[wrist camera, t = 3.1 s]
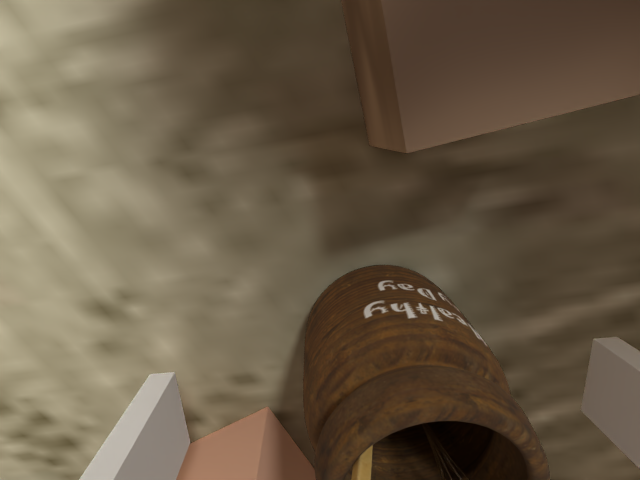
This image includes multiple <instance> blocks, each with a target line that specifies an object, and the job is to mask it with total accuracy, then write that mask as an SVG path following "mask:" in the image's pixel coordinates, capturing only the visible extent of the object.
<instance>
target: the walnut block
mask: <svg viewBox="0 0 640 480" xmlns="http://www.w3.org/2000/svg"><path fill="white" fill-rule="evenodd" d="M341 3H342V8H343V13H344V18H345V23H346V28H347V34H348V39H349V44H350V49H351V54H352V59H353V64H354V69H355V74H356V79H357V84H358V90H359V95H360V100H361V105H362V110H363V115H364V120H365V125H366V130H367V135H368V140H369V145H370V146H374V147H379V148H383V149H388V150H393V151H397V152H402V153H411V152H415V151H418V150H422V149H426V148H430V147H434V146H438V145H442V144H446V143H450V142H454V141H458V140H462V139H466V138H470V137H474V136H478V135H482V134H486V133H490V132H494V131H498V130H502V129H506V128H510V127H514V126H518V125H522V124H526V123H529V122H533V121H537V120H541V119H545V118H549V117H553V116H557V115H561V114H565V113H569V112H573V111H577V110H581V109H585V108H589V107H593V106H597V105H601V104H605V103H609V102H613V101H617V100H621V99H625V98H629V97H633V96H637V95H640V0H341Z"/></svg>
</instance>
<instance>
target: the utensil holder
mask: <svg viewBox="0 0 640 480" xmlns="http://www.w3.org/2000/svg"><path fill="white" fill-rule="evenodd" d="M303 402H304V415H305V422H306V427H307V431H308V435H309V439H310V442H311V444H312V446H313V449H314V451H315V477H316V480H550V475H549V466H548V462H547V458H546V455H545V453H544V450H543V448H542V446H541V444H540V442H539V440H538V438H537V435H536V433H535V431H534V430H533V428H532V426H531V424H530V422H529V420H528V418H527V416H526V415H525V413H524V412H523V410H522V409H521V407H520V406H519V405H518V404H517V403H516V401H515V400H514V399H513V398H512V397H511V395H510V390H509V387H508V383H507V380H506V377H505V375H504V373H503V371H502V369H501V367H500V365H499V363H498V361H497V359H496V357H495V356H494V354H493V353H492V351H491V350H490V348H489V347H488V346H487V344H486V343H485V341H484V340H483V339H482V338H481V336H480V335H479V334H478V333H477V331H476V330H475V329H474V328H473V326H472V325H471V324H470V323H469V321H468V320H467V319H466V318H465V317H464V315H463V314H462V313H461V312H460V311H459V309H458V308H457V307H456V306H455V305H454V303H453V302H452V301H451V300H450V299H449V298H448V297H447V296H446V295H445V294H444V293H443V291H442V290H441V289H440V288H438V287H437V286H436V285H435V284H434V283H433V282H431V281H430V280H429V279H427V278H426V277H424V276H422V275H421V274H419V273H417V272H415V271H412V270H410V269H406V268H403V267H399V266H392V265H374V266H368V267H363V268H360V269H357V270H354V271H351V272H349V273H347V274H345V275H343V276H342V277H340V278H339V279H337V280H336V281H334V282H333V283H332V284H331V285H330V286H329V287H328V288H327V289H326V290H325V291H324V292H323V293H322V294H321V296H320V297H319V298H318V300H317V301H316V303H315V305H314V307H313V309H312V311H311V314H310V317H309V320H308V324H307V329H306V337H305V349H304V379H303Z"/></svg>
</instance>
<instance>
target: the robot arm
mask: <svg viewBox="0 0 640 480" xmlns="http://www.w3.org/2000/svg"><path fill="white" fill-rule="evenodd" d="M581 411H582V412H583V413H584V414H585V415H586V416H587V417H588V418H589V419H590V420H591V421H592V422H593V423H594V424H595V425H596V426H597V427H598V428H599V429H600V430H601V431H602V432H603V433H604V434H605V435H606V436H607V437H608V438H609V439H610V440H611V441H612V442H613V443H614V444H615V445H616V446H617V447H618V448H619V449H620V450H621V451H622V452H623V453H624V454H625V455H626V456H627V457H628V458H629V459H630V460H631V461H632V462H633V463H634V464H635V465H636V466H637V467H638V468H639V469H640V351H639V350H637V349H636V348H634V347H633V346H631V345H629V344H628V343H626V342H625V341H623V340H622V339H620V338H618V337H608V338H595V339H593V343H592V348H591V354H590V360H589V365H588V371H587V377H586V382H585V388H584V394H583V399H582V405H581ZM189 445H190V439H189V434H188V430H187V425H186V420H185V416H184V411H183V407H182V402H181V398H180V393H179V389H178V384H177V379H176V375H175V372H169V373H156V374H150V375H149V376H148V378H147V379H146V381H145V382H144V384H143V385H142V387H141V388H140V390H139V391H138V393H137V394H136V396H135V397H134V399H133V400H132V402H131V403H130V405H129V406H128V408H127V409H126V410H125V412H124V413H123V415H122V416H121V418H120V419H119V421H118V422H117V424H116V425H115V427H114V428H113V430H112V431H111V433H110V434H109V436H108V437H107V439H106V440H105V442H104V443H103V445H102V446H101V448H100V449H99V451H98V452H97V454H96V455H95V457H94V458H93V460H92V461H91V463H90V464H89V466H88V467H87V469H86V470H85V472H84V473H83V474H82V476H81V477H80V479H79V480H176V478H177V476H178V473H179V471H180V468H181V465H182V463H183V460H184V458H185V455H186V452H187V450H188V447H189Z"/></svg>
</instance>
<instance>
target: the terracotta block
mask: <svg viewBox="0 0 640 480" xmlns="http://www.w3.org/2000/svg"><path fill="white" fill-rule="evenodd" d="M176 480H316V477H315V469H314V468H313V466H312V465H311V464H310V462H309V461H308V460H307V458H306V457H305V456H304V454H303V453H302V452H301V450H300V449H299V447H298V446H297V445H296V443H295V442H294V441H293V439H292V438H291V437H290V435H289V434H288V433H287V431H286V430H285V429H284V427H283V426H282V425H281V423H280V422H279V421H278V419H277V418H276V417H275V415H274V414H273V413H272V411H271V410H270V409H269V407H266V408H263V409H261V410H259V411H257V412H255V413H253V414H251V415H249V416H247V417H245V418H242V419H240V420H238V421H236V422H234V423H232V424H230V425H228V426H226V427H224V428H222V429H219V430H217V431H215V432H213V433H211V434H209V435H207V436H205V437H203V438H201V439H199V440H196V441H194V442H192V443H190V445H189V447H188V450H187V452H186V455H185V458H184V460H183V463H182V465H181V468H180V471H179V473H178V476H177V478H176Z"/></svg>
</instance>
